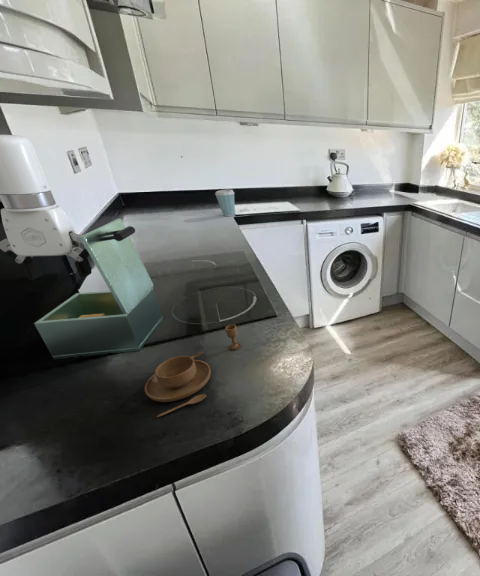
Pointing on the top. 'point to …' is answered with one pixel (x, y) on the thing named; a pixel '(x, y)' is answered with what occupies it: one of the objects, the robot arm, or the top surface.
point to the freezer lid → (118, 263)
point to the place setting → (183, 377)
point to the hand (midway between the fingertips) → (61, 276)
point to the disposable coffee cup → (226, 201)
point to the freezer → (98, 325)
